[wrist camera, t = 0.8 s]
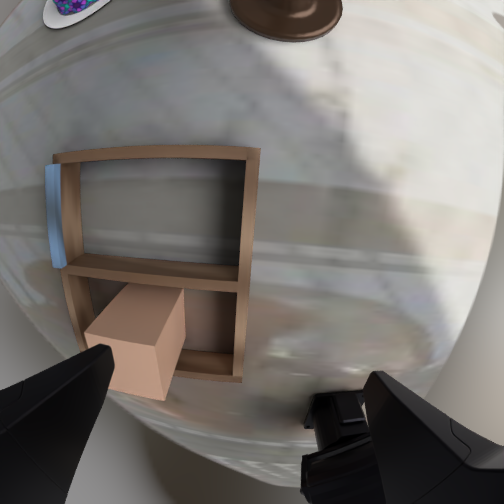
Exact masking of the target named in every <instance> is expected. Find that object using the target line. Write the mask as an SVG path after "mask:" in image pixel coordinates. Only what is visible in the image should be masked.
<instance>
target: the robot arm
mask: <svg viewBox="0 0 504 504" xmlns="http://www.w3.org/2000/svg"><path fill="white" fill-rule="evenodd" d="M114 369H115V362H114V358H113V353H112V349H111V347H110V346H109V345H105V344H102V343H99V344H97V345H95V346H93V347H91V348H89V349H87V350H85V351H83V352H81V353H79V354H77V355H75V356H73V357H71V358H69V359H66V360H64V361H62V362H60V363H58V364H56V365H54V366H52V367H50V368H48V369H46V370H44V371H42V372H40V373H38V374H36V375H33V376H31V377H29V378H27V379H25V380H24V381H21V382H19V383H16V384H14V385H12V386H10V387H8V388H5V389H2V390H0V504H65V501H66V498H67V495H68V494H67V493H68V491H69V488H70V485H71V483H72V480H73V477H74V474H75V471H76V469H77V466H78V463H79V461H80V458H81V455H82V453H83V451H84V448H85V446H86V443H87V440H88V438H89V436H90V433H91V431H92V428H93V426H94V424H95V421H96V419H97V417H98V415H99V412H100V410H101V408H102V405H103V403H104V400H105V397H106V394H107V391H108V387H109V384H110V381H111V378H112V375H113V372H114ZM364 402H365V408H366V415H367V421H368V424H367V422H366V417H365V415H364V412H363V410H362V405H363V403H364ZM304 428H305V429H314V431H315V436H316V441H317V446H318V452H315V453H312V454H309V455H308V454H306V455H303V456H302V462H301V488H300V492H301V494H302V495H304V496H305V498H306V499H307V501H308V503H310V504H504V446H501V445H498V444H496V443H494V442H492V441H490V440H488V439H486V438H484V437H482V436H480V435H478V434H476V433H475V432H473V431H471V430H469V429H467V428H466V427H464V426H463V425H461V424H459V423H458V422H456V421H455V420H453V419H452V418H450V417H449V416H447V415H446V414H444V413H443V412H442V411H440V410H439V409H437V408H436V407H434V406H432V405H431V404H430V403H428V402H427V401H425V400H424V399H422V398H421V397H420V396H418V395H417V394H415V393H414V392H412V391H411V390H409V389H408V388H407V387H405V386H404V385H402V384H401V383H399V382H398V381H397V380H395V379H394V378H392V377H391V376H389V375H388V374H387V373H385V372H384V371H373V372H371V373H370V375H369V377H368V379H367V382H366V384H365V386H364V388H363V390H361V391H352V392H340V393H326V394H316V395H315V396H314V397H313V400H312V403H311V406H310V409H309V411H308V414H307V417H306V420H305V422H304Z"/></svg>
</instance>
